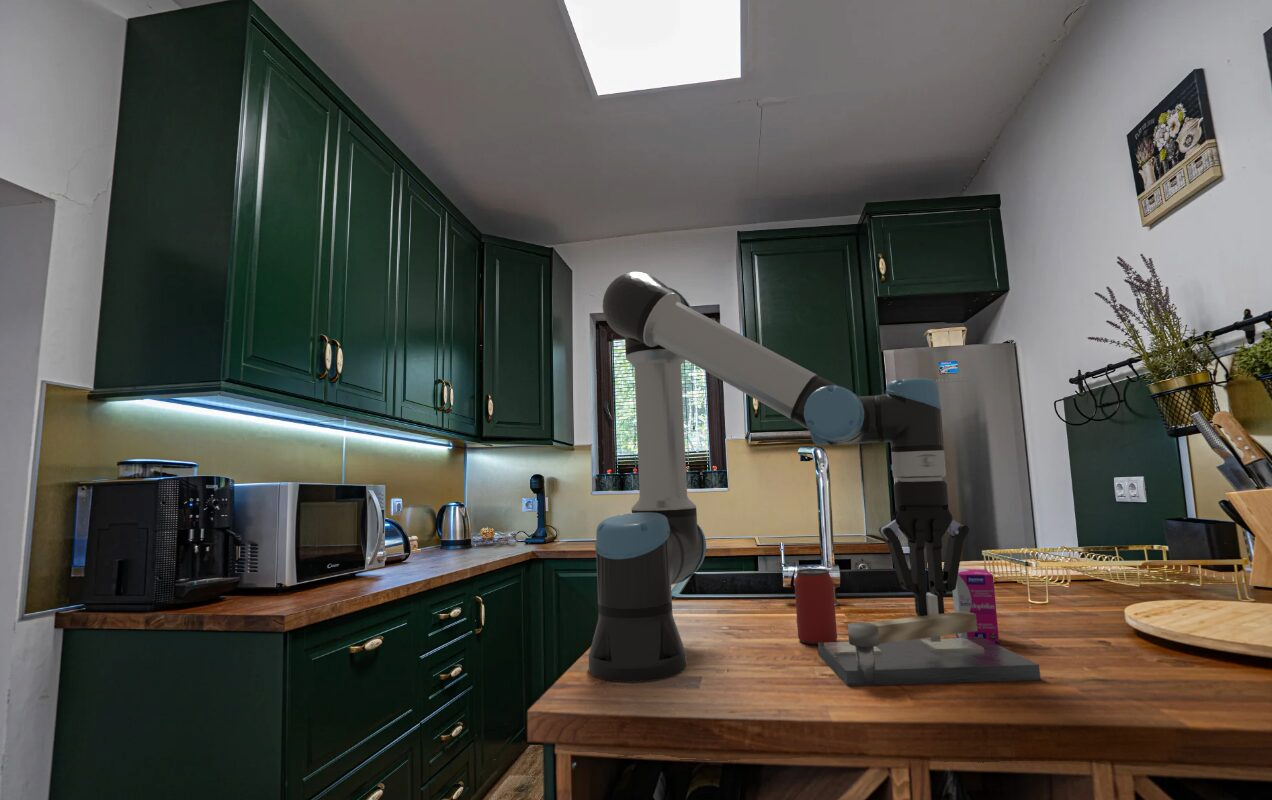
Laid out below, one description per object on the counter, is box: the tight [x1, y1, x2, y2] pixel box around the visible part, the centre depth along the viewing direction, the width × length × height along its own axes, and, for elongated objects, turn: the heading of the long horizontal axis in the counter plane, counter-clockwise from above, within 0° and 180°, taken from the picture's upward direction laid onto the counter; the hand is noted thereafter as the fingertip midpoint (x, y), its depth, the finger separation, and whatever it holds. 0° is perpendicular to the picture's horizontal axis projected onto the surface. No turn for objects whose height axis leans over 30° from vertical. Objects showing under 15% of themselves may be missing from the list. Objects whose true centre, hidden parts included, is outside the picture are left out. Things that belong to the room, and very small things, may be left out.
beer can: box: [794, 568, 838, 646], centre depth 116 cm, size 7×7×12 cm
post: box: [855, 646, 875, 687], centre depth 92 cm, size 2×2×5 cm
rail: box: [847, 611, 977, 647], centre depth 95 cm, size 20×4×2 cm, turn 107°
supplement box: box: [951, 568, 1000, 646], centre depth 112 cm, size 6×6×12 cm
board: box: [817, 637, 1042, 687], centre depth 98 cm, size 26×16×2 cm, turn 88°
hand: (932, 639), depth 99 cm, fingers closed
